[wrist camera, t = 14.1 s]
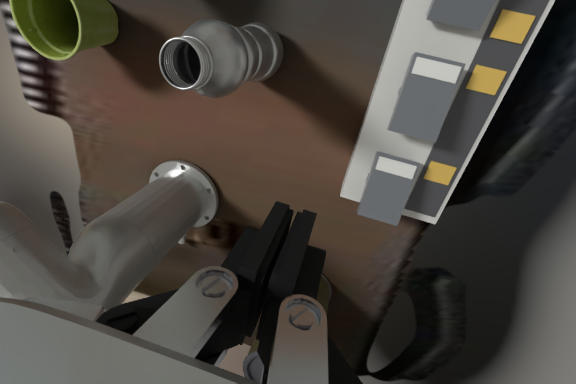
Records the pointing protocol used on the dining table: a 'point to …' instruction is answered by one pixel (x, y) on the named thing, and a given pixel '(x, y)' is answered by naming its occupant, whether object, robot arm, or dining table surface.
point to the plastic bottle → (220, 57)
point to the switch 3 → (425, 96)
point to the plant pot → (65, 25)
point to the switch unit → (464, 106)
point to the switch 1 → (387, 188)
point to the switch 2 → (460, 12)
